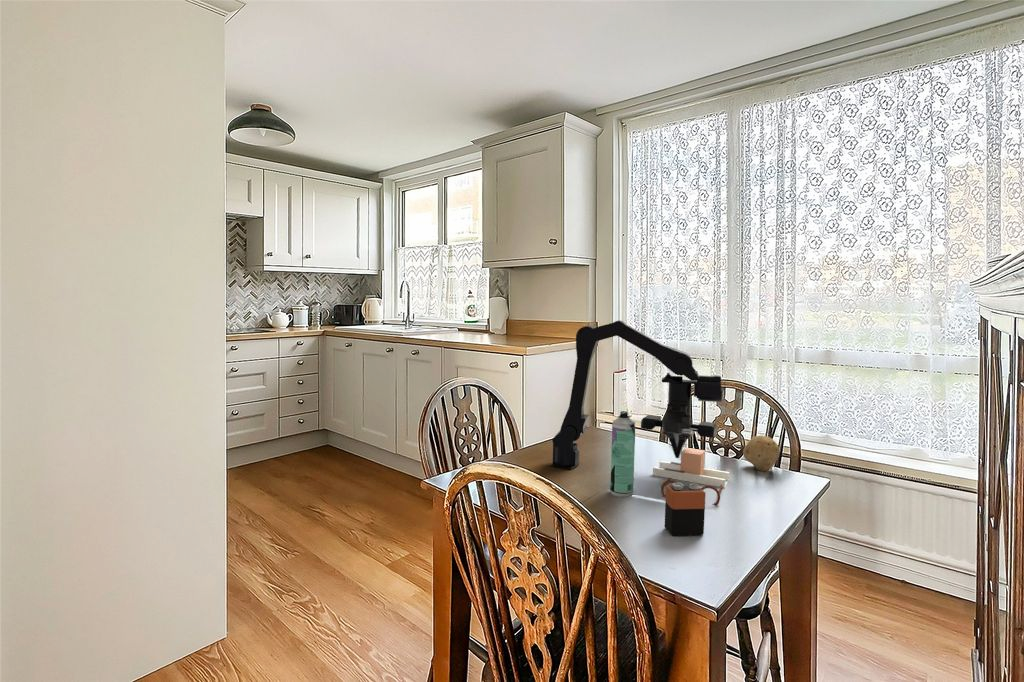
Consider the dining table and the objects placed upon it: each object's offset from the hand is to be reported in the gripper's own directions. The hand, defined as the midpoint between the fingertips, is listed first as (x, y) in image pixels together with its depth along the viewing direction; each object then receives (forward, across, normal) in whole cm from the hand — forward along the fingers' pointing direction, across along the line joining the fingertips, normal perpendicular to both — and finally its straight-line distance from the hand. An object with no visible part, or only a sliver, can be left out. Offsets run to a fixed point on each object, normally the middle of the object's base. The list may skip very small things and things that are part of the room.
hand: (677, 457), depth 145 cm
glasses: (+6, +6, -11) cm, 14 cm away
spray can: (+5, -9, -20) cm, 22 cm away
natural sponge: (+6, +19, +18) cm, 26 cm away
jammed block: (+5, +4, 0) cm, 6 cm away
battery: (+5, +10, -34) cm, 36 cm away
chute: (+5, +4, 0) cm, 6 cm away
